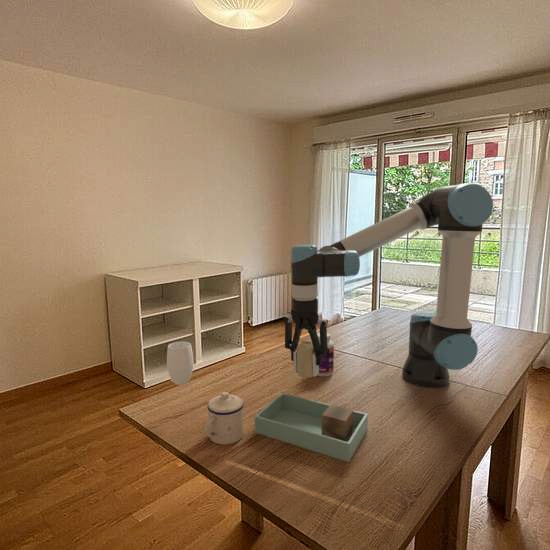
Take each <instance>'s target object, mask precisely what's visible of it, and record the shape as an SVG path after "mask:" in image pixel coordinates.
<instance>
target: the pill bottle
mask: <svg viewBox="0 0 550 550" xmlns="http://www.w3.org/2000/svg"><path fill="white" fill-rule="evenodd" d="M317 335H318V339H319V342H320V331H319V332H317ZM310 342H311V343H312V341H310ZM327 346H328V351H327V352H326V353H325V354H321V364H320V365H319V374H318V375H317V376H316V377H321V378H322V377H329V376H332V375H333V373H334V363H335V362H334V361H335V360H334V358H335V355H334V354H335V344H334V341H333V340H331V334H330V333H329V332H327Z"/></svg>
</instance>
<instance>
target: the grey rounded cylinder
mask: <svg viewBox="0 0 550 550" xmlns="http://www.w3.org/2000/svg"><path fill="white" fill-rule="evenodd" d="M194 363H195V362H194V352H193V348H192V343H191V342H188V341H175V342H174V341H173V342H171V343H169V344H168V346H167V351H166V367H167V371H168V372H167V373H168V376H169V378H170V380H171V382H172V383H174V384H175V385H177V386H184V385H186V384H187V383H189V381H191V378H192V375H193V369H194Z"/></svg>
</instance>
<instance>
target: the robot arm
mask: <svg viewBox="0 0 550 550" xmlns="http://www.w3.org/2000/svg"><path fill="white" fill-rule="evenodd" d="M493 211H494V202H493V198H492V195H491V193H490V192H489V191H488V190H487V189H486V188H485V187H484V186H482V185H479V184H477V183H468V182H465V183H459V184H453V185H445V186H441V187H438V188H436V189H434V190H432V191H430V192H428V193H427V194H425V195H423V196H422V197H420V198H418V199H416V200H414V201H411V202H410V203H409V205H408V207H406V208H405V209H403V210H401V211H399V212H396V213H394V214H393V215H390V216H387V217H386V218H385V219H382V220H380V221H378V222H375V223H374V224H372V225H370V226H367V227H366V228H363V229H360V230H359V231H357V232H355V233H353V234H351V235H349V236H347V237H345V238H342V239H340V240H339V241H337V242H334V243H332V244H330V245H324V246H321V247H320V248H319V249H318V247H317V245H316V244H296V245H294V246H293V247H292V248H291V249H290V250H291V251H290V252H291V254H290V255H291V256H290V259H291V260H290V268H291V269H290V270H291V271H290V272H291V296H292V300H291V302H292V305H291V306H292V307H291V309H292V314H291V315H290V314H288V315H286V316H283V323H284V348H285V349H289V351H290V355H291V356H290V358H291V359H290V360H291V362H293V373H294V374H297V346H298V345H299V344H300V338H301V335H302V331H303V330H306V331H307V332H308V335H309V337H310V342H312V345H313V348H314V352H315V354H314V355H313V377H318V376H317V375H318V374H319V365H320V364H321V354H325V353H326V352H327V351H328V346H327V333H328V331H327V330H328V329H327V326H328V323H329V320H328V319H323V318H321V317H320V315H319V312H318V311H319V299H318V298H317V297H318V296H319V294H318V293H319V292H318V290H319V289H318V288H319V287H318V284H319V283H318V278H334V277H335V278H336V277H346V278H347V277H351V276H352V277H353V276H357V275H358V274H359V272H360V266H361V261H360V257H362V256H364V255H366V254H367V255H368V253H371V252H372V251H373V252H374V251H375V250H377V249H379V248H382V247H384V246H386V245H387V244H390V243H392V242H394V241H396V240H399V239H400V238H402V237H404V236H406V235H408V234H410V233H413V232H415V231H417V230H422V231H425V230H426V229H428V228H431V227H434V226H437V232H438V233H439V234H440V235H441V236H442V237H441V238H442V241H441V243H442V244H441V250H440V251H441V252H440V253H441V254H440V264H439V267H440V268H439V276H438V277H439V278H438V287H437V288H438V289H437V299H436V310H435V311H436V312H415V313H413V314H412V315H411V316H410V321H409V337H408V339H409V340H408V341H409V342H408V355H407V358H406V360H405V363H403V364H404V365H403V367H402V371H401V372H402V373H401V375H402V378H403V380H404V381H407V382H408V383H411V384H413V385H415V386H419V387H424V388H425V387H426V388H442V387H446V386H447V385H448V384H449V383H450V373H449V370H452V371H457V370H462V369H464V368H467V367H468V366H469V365H470V364H472V363H473V362H474V361H475V359H476V357H477V355H478V351H479V350H478V348H479V347H478V343H477V342H476V340H475V339H474V338H473V337H472V330H473V323H472V322H470V320H469V319H468V314H469V302H470V301H469V300H470V293H471V283H472V273H473V262H474V252H475V245H476V243H475V242H476V238H477V237H478V236H479V235H480V234H482V232H483V225H484V223H485V222H487V220H488V219H490V218H491V215H492V213H493ZM293 322H294V324H295V325H294V326H295V327H294V333H293ZM317 323H318V327H319V332H320V342H319V339H318V335H317V333H318V332H317V330H318V329H317V326H316V325H317Z"/></svg>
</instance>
